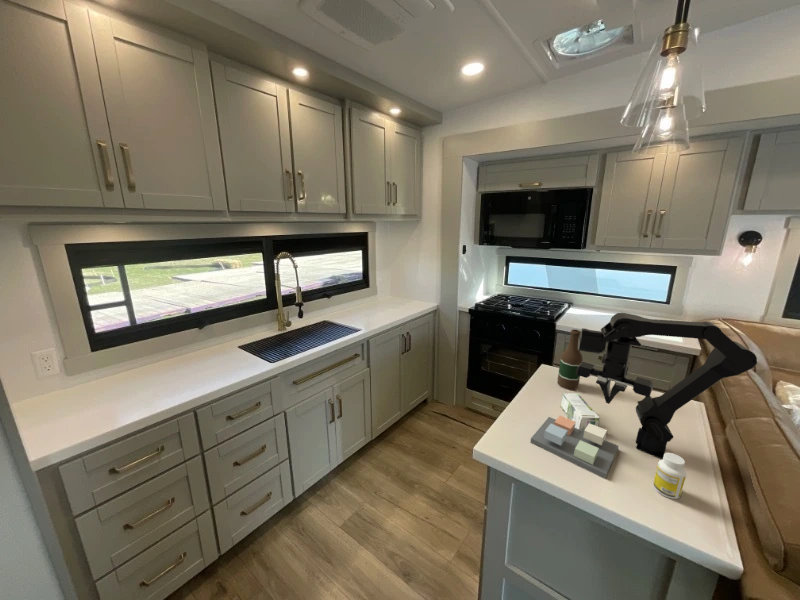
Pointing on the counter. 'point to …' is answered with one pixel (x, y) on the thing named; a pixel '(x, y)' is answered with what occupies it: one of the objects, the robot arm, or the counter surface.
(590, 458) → the sage green key
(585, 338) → the robot arm
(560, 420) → the terracotta key
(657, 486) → the supplement bottle
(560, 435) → the slate blue key
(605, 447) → the keypad base
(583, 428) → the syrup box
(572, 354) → the beer bottle
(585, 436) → the cream key
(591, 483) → the counter surface
